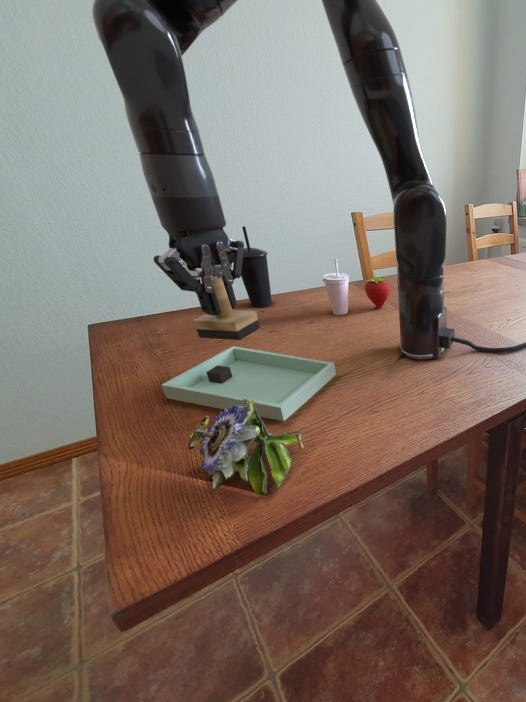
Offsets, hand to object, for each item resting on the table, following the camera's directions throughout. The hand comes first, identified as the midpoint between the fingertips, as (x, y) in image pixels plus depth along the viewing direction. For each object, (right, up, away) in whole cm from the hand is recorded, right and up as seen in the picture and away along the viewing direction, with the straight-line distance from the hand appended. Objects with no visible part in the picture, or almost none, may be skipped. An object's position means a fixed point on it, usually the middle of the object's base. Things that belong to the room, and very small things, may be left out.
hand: (221, 310), depth 59 cm
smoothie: (+4, +5, +40) cm, 40 cm away
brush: (0, -3, +2) cm, 4 cm away
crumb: (-5, -11, +7) cm, 14 cm away
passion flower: (+11, -22, -9) cm, 27 cm away
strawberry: (+13, +6, +43) cm, 46 cm away
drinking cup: (-18, +7, +41) cm, 46 cm away
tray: (+2, -13, +6) cm, 15 cm away
